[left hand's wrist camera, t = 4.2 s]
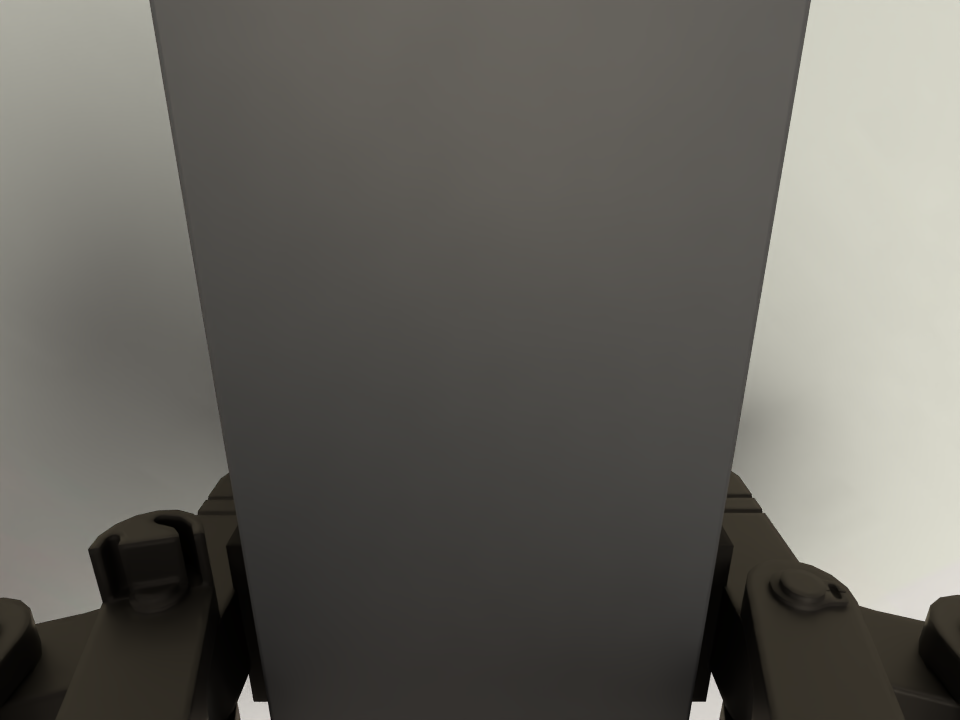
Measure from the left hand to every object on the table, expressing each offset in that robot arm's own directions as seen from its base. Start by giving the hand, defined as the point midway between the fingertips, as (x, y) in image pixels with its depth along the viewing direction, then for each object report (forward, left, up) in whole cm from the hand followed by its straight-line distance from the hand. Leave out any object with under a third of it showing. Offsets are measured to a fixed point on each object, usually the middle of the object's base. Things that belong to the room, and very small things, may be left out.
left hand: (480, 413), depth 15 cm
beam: (-4, +34, -1) cm, 34 cm away
